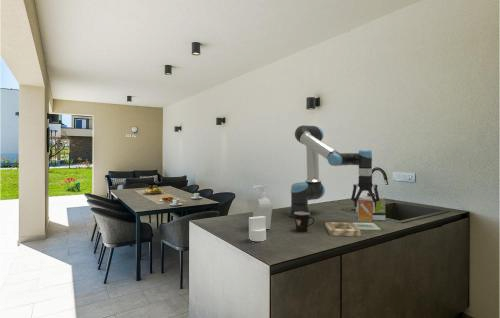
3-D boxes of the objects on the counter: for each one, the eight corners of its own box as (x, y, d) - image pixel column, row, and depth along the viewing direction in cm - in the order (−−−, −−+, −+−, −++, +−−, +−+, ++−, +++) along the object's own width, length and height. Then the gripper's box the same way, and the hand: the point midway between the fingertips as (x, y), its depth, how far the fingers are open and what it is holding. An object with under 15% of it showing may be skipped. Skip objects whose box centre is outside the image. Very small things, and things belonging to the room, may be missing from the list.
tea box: (380, 217, 197) (380, 196, 197) (385, 220, 187) (385, 198, 187) (357, 217, 199) (358, 195, 199) (362, 220, 189) (362, 198, 189)
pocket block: (330, 235, 155) (330, 230, 155) (325, 226, 173) (325, 222, 173) (360, 236, 154) (360, 231, 154) (352, 227, 171) (352, 222, 171)
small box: (358, 221, 171) (358, 199, 171) (357, 218, 178) (357, 198, 177) (373, 222, 169) (372, 200, 169) (371, 219, 175) (371, 198, 175)
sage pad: (355, 229, 167) (355, 228, 167) (350, 223, 181) (350, 222, 181) (380, 230, 166) (380, 229, 166) (373, 223, 180) (373, 223, 180)
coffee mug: (291, 229, 169) (291, 212, 168) (303, 227, 172) (303, 211, 172) (302, 234, 158) (302, 216, 158) (315, 232, 161) (315, 215, 161)
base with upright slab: (253, 243, 143) (252, 220, 143) (246, 238, 151) (246, 216, 151) (269, 241, 147) (268, 218, 146) (261, 236, 155) (261, 214, 155)
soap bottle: (249, 226, 175) (249, 184, 174) (264, 225, 178) (264, 184, 178) (256, 232, 163) (256, 187, 163) (272, 230, 167) (272, 186, 166)
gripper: (348, 175, 170) (348, 213, 171) (385, 175, 168) (385, 214, 168) (345, 174, 178) (345, 210, 178) (381, 174, 175) (381, 211, 176)
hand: (365, 212), depth 173 cm, fingers closed on small box, 9 cm apart
